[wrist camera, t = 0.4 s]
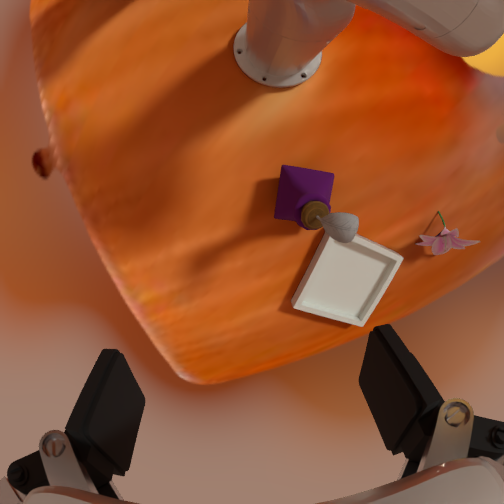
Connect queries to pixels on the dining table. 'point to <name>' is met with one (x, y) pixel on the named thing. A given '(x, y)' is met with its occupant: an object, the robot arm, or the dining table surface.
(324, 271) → the tray
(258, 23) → the robot arm
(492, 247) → the dining table surface
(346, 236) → the perfume bottle
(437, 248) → the lily
